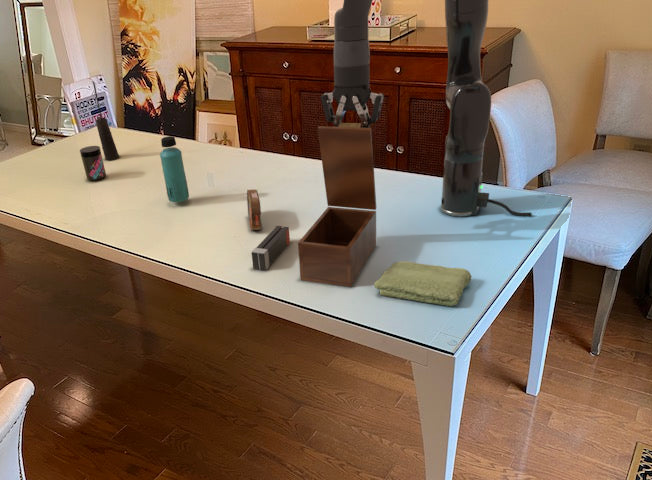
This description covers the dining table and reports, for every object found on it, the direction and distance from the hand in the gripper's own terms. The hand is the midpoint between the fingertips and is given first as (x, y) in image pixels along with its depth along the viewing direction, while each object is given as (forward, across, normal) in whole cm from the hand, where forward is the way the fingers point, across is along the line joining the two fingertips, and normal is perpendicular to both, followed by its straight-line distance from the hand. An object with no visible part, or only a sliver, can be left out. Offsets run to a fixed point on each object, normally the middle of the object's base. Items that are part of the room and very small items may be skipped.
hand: (352, 140), depth 140 cm
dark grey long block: (+26, -17, -11) cm, 33 cm away
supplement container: (+25, -99, +26) cm, 105 cm away
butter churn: (+25, -108, +46) cm, 120 cm away
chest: (+26, 0, -11) cm, 28 cm away
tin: (+26, -29, +5) cm, 39 cm away
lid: (+6, 0, -4) cm, 7 cm away
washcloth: (+26, +20, -17) cm, 37 cm away
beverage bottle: (+26, -58, +13) cm, 65 cm away
